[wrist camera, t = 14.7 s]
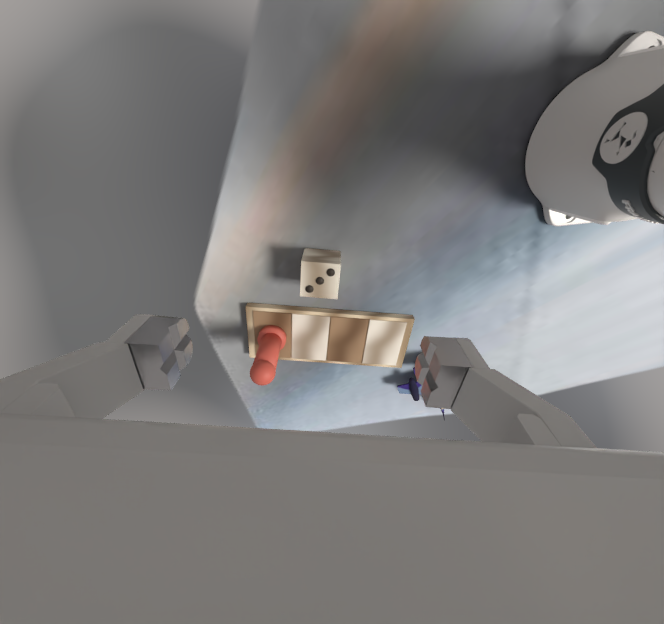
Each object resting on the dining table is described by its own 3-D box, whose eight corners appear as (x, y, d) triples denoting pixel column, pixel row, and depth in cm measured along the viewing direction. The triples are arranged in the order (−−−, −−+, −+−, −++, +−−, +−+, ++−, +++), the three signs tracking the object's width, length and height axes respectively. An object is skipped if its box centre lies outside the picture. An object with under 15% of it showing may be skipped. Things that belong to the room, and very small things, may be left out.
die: (340, 250, 41) (340, 264, 37) (336, 283, 43) (337, 299, 39) (304, 247, 41) (301, 261, 36) (303, 280, 43) (300, 296, 39)
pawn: (286, 326, 46) (277, 370, 37) (286, 348, 48) (277, 394, 40) (258, 324, 45) (242, 367, 37) (259, 346, 48) (244, 392, 39)
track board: (412, 315, 46) (414, 320, 45) (399, 363, 51) (401, 368, 50) (247, 302, 45) (245, 307, 44) (251, 352, 50) (249, 358, 49)
